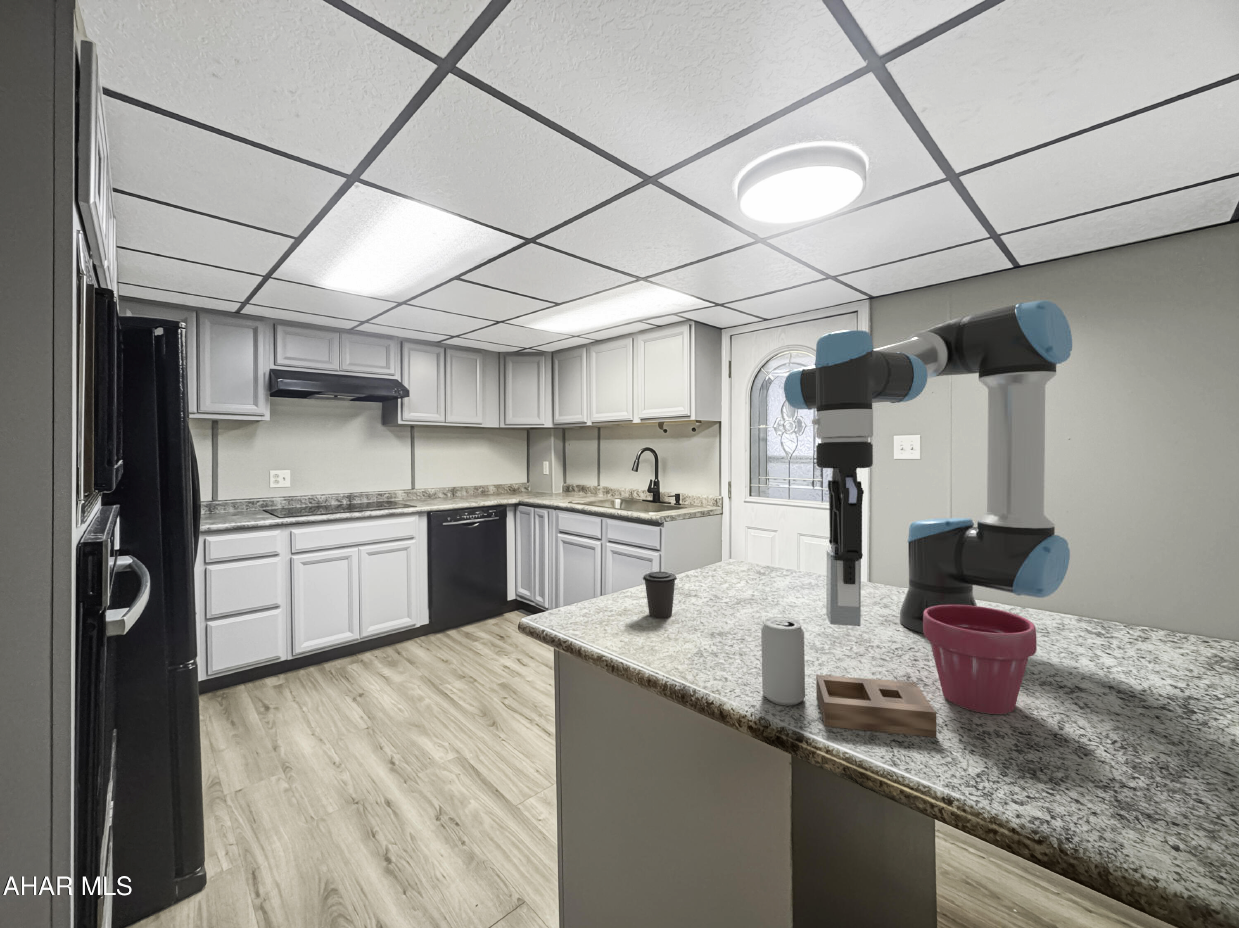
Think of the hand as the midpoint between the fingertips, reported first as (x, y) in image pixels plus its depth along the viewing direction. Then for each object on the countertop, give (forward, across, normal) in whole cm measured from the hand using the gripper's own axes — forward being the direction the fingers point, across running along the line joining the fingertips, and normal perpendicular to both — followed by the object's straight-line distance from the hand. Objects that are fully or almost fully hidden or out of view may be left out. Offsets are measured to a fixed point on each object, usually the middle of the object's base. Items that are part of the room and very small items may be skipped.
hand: (844, 600), depth 75 cm
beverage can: (+17, -3, -9) cm, 19 cm away
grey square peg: (+3, 0, 0) cm, 3 cm away
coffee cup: (+17, -39, -34) cm, 54 cm away
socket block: (+17, 0, +4) cm, 17 cm away
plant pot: (+17, -8, +20) cm, 27 cm away
